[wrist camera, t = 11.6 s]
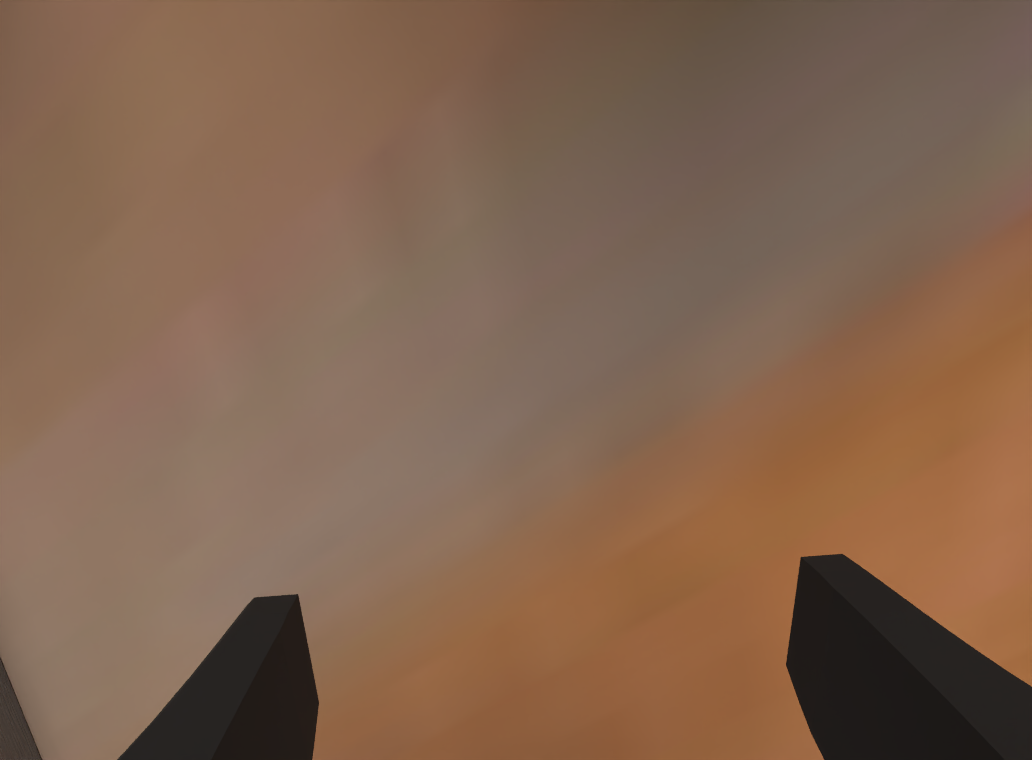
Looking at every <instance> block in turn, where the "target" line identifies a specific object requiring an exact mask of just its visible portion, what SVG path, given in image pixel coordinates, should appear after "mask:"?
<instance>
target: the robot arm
mask: <svg viewBox="0 0 1032 760" xmlns="http://www.w3.org/2000/svg"><path fill="white" fill-rule="evenodd" d="M786 666H787V669H788V672H789V675H790V677H791V680H792V683H793V686H794V689H795V692H796V694H797V697H798V700H799V703H800V705H801V708H802V711H803V713H804V716H805V718H806V721H807V724H808V726H809V729H810V732H811V734H812V736H813V738H814V740H815V742H816V744H817V746H818V748H819V750H820V752H821V754H822V756H823V758H824V760H1032V687H1031V686H1030V685H1028V684H1027V683H1025V682H1024V681H1022V680H1020V679H1019V678H1017V677H1016V676H1014V675H1013V674H1011V673H1009V672H1008V671H1006V670H1005V669H1003V668H1002V667H1001V666H999V665H998V664H996V663H995V662H993V661H992V660H990V659H989V658H987V657H986V656H984V655H983V654H981V653H980V652H978V651H977V650H975V649H974V648H973V647H971V646H970V645H968V644H967V643H965V642H964V641H963V640H961V639H960V638H958V637H957V636H955V635H954V634H953V633H951V632H950V631H948V630H947V629H946V628H944V627H943V626H941V625H940V624H939V623H937V622H936V621H935V620H933V619H932V618H930V617H929V616H928V615H926V614H925V613H923V612H922V611H921V610H919V609H918V608H917V607H915V606H914V605H913V604H911V603H910V602H908V601H907V600H906V599H904V598H903V597H902V596H900V595H899V594H898V593H896V592H895V591H893V590H892V589H891V588H889V587H888V586H887V585H885V584H884V583H883V582H881V581H880V580H879V579H877V578H876V577H874V576H873V575H872V574H870V573H869V572H868V571H866V570H865V569H863V568H862V567H861V566H859V565H858V564H856V563H855V562H853V561H852V560H851V559H849V558H848V557H846V556H845V555H843V554H835V555H822V556H808V557H801V560H800V567H799V575H798V582H797V589H796V596H795V604H794V611H793V618H792V625H791V633H790V640H789V647H788V654H787V662H786ZM318 706H319V700H318V695H317V690H316V685H315V680H314V674H313V669H312V664H311V659H310V654H309V648H308V643H307V638H306V633H305V628H304V622H303V617H302V612H301V607H300V602H299V596H298V594H296V595H282V596H269V597H255V598H254V599H253V600H252V601H251V602H250V603H249V604H248V605H247V606H246V607H245V609H244V610H243V611H242V612H241V614H240V615H239V616H238V617H237V619H236V620H235V621H234V623H233V624H232V625H231V626H230V628H229V629H228V630H227V631H226V633H225V634H224V635H223V637H222V638H221V639H220V640H219V642H218V643H217V644H216V645H215V647H214V648H213V649H212V650H211V652H210V653H209V654H208V655H207V657H206V658H205V659H204V660H203V662H202V663H201V664H200V665H199V667H198V668H197V669H196V670H195V672H194V673H193V674H192V675H191V676H190V678H189V679H188V680H187V681H186V682H185V683H184V685H183V686H182V687H181V688H180V689H179V691H178V692H177V693H176V694H175V695H174V697H173V698H172V699H171V700H170V701H169V702H168V704H167V705H166V706H165V707H164V708H163V710H162V711H161V712H160V713H159V714H158V715H157V717H156V718H155V719H154V720H153V721H152V722H151V723H150V725H149V726H148V727H147V728H146V729H145V730H144V731H143V732H142V733H141V735H140V736H139V737H138V738H137V739H136V740H135V741H134V742H133V743H132V744H131V745H130V746H129V748H128V749H127V750H126V751H125V752H124V753H123V754H122V755H121V756H120V757H119V758H118V760H312V756H313V749H314V741H315V732H316V723H317V714H318Z"/></svg>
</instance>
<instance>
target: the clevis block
mask: <svg viewBox="0 0 1032 760" xmlns="http://www.w3.org/2000/svg"><path fill="white" fill-rule="evenodd" d="M0 760H41V757H40V755H39V753H38V750H37V748H36V745H35V743H34V740H33V738H32V735H31V733H30V731H29V728H28V726H27V723H26V721H25V718H24V716H23V713H22V711H21V708H20V706H19V704H18V701H17V699H16V696H15V694H14V691H13V689H12V686H11V684H10V681H9V679H8V677H7V674H6V672H5V669H4V667H3V664H2V662H1V659H0Z"/></svg>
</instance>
